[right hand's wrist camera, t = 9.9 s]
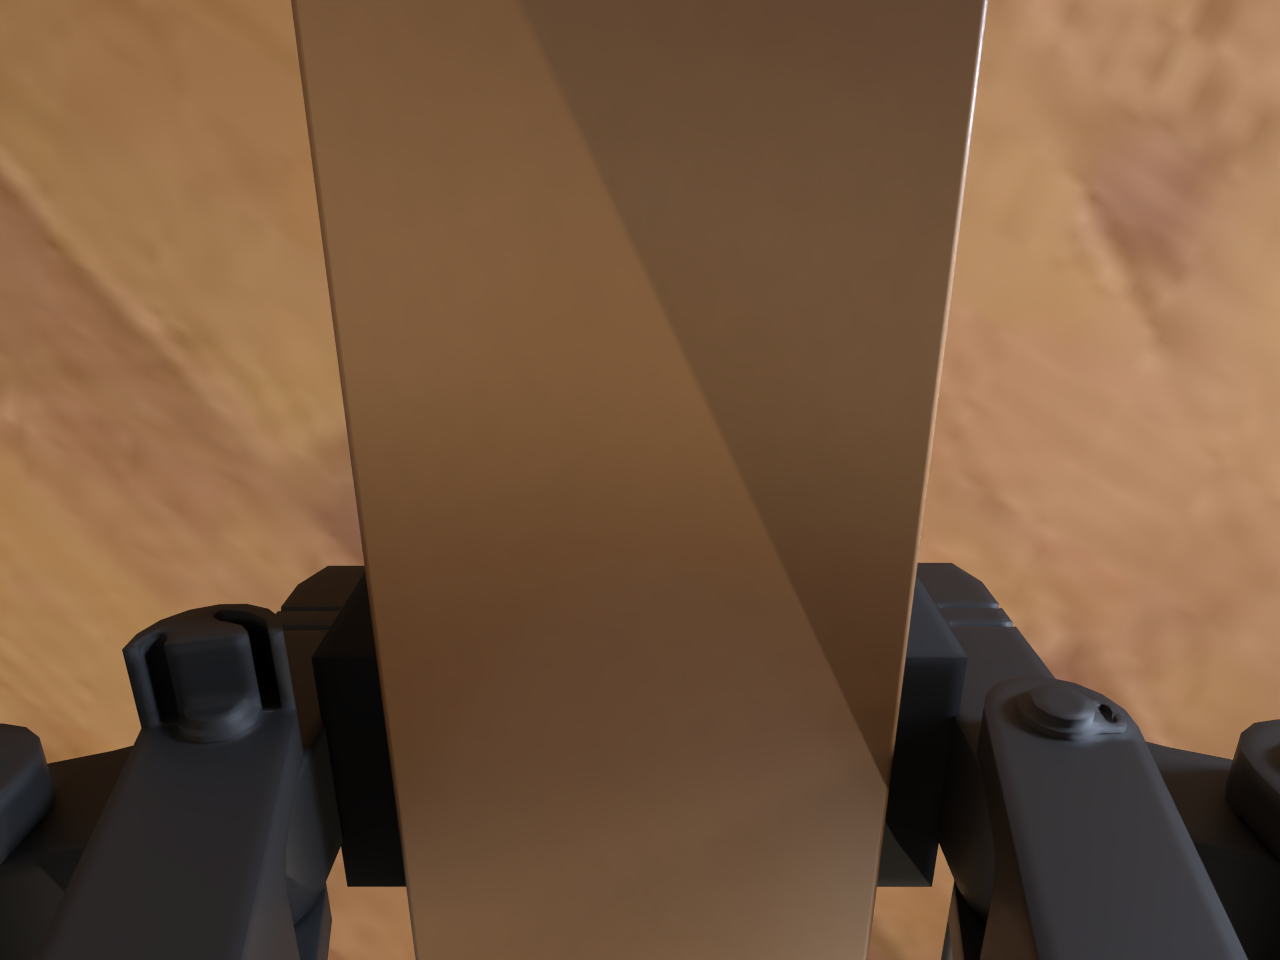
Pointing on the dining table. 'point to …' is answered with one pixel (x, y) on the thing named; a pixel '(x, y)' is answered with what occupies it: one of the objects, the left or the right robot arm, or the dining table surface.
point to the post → (640, 445)
